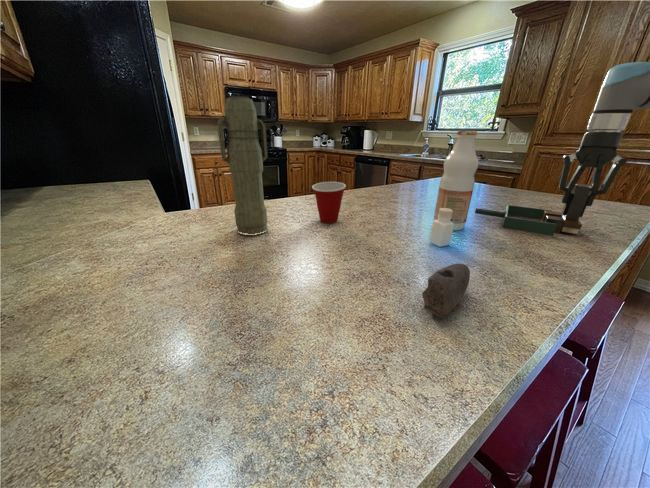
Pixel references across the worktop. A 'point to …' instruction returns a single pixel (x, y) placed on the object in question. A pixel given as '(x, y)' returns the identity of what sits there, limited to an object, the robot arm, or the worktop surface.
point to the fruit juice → (458, 179)
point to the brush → (575, 209)
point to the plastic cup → (329, 200)
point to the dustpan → (522, 223)
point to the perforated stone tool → (446, 289)
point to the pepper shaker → (442, 228)
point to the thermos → (245, 163)
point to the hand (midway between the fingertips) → (571, 214)
